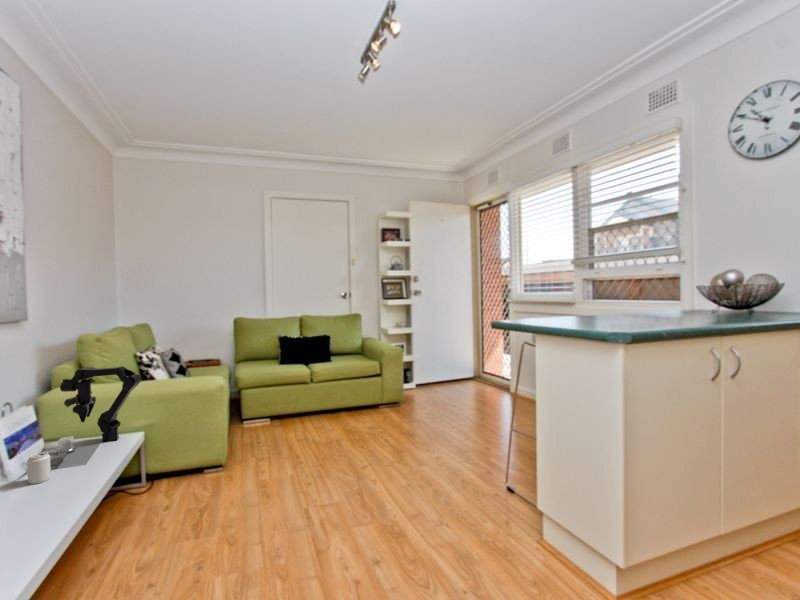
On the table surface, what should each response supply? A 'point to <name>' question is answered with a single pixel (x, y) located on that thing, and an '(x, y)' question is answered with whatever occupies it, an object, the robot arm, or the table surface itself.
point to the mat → (78, 456)
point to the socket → (65, 443)
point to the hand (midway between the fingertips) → (85, 419)
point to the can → (39, 467)
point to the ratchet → (60, 457)
